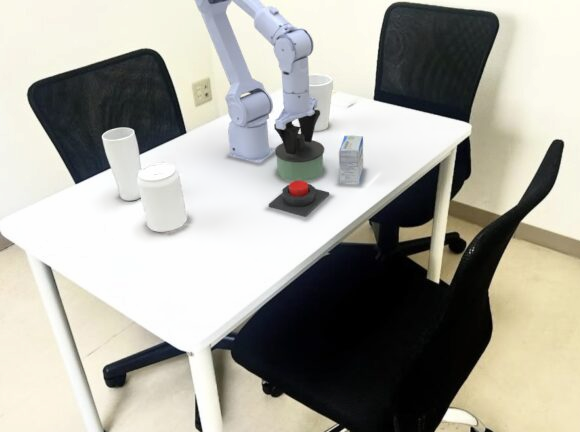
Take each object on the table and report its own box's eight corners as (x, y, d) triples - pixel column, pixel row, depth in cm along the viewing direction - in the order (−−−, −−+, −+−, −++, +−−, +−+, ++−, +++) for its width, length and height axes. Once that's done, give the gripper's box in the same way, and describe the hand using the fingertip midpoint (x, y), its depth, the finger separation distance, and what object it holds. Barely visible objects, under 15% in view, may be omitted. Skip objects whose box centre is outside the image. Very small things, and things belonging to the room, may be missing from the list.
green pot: (269, 177, 129) (267, 156, 126) (293, 159, 136) (292, 138, 133) (308, 186, 124) (307, 165, 121) (330, 167, 131) (330, 146, 128)
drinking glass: (138, 185, 128) (124, 124, 120) (154, 195, 124) (140, 132, 116) (111, 196, 124) (95, 134, 116) (127, 206, 120) (111, 143, 112)
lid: (265, 158, 126) (264, 140, 124) (292, 140, 134) (290, 122, 132) (308, 168, 121) (307, 150, 118) (333, 148, 129) (332, 130, 126)
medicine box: (359, 186, 123) (359, 150, 118) (339, 185, 124) (338, 149, 119) (363, 169, 130) (363, 135, 125) (344, 168, 130) (343, 134, 126)
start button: (285, 194, 116) (285, 187, 115) (295, 186, 119) (295, 178, 118) (302, 198, 115) (301, 191, 114) (311, 190, 117) (311, 182, 116)
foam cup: (302, 119, 157) (300, 74, 150) (334, 119, 156) (334, 74, 149) (297, 133, 149) (294, 86, 142) (331, 133, 148) (330, 86, 141)
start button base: (268, 209, 117) (267, 196, 115) (293, 187, 124) (293, 176, 122) (305, 219, 113) (305, 206, 111) (329, 197, 120) (329, 184, 118)
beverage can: (144, 218, 116) (132, 167, 109) (182, 209, 118) (173, 158, 112) (151, 238, 109) (139, 184, 103) (192, 227, 112) (182, 175, 105)
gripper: (294, 103, 112) (297, 163, 120) (328, 81, 123) (329, 138, 130) (265, 98, 116) (270, 157, 123) (301, 77, 126) (304, 132, 133)
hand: (299, 147), depth 127 cm, fingers open, 6 cm apart
